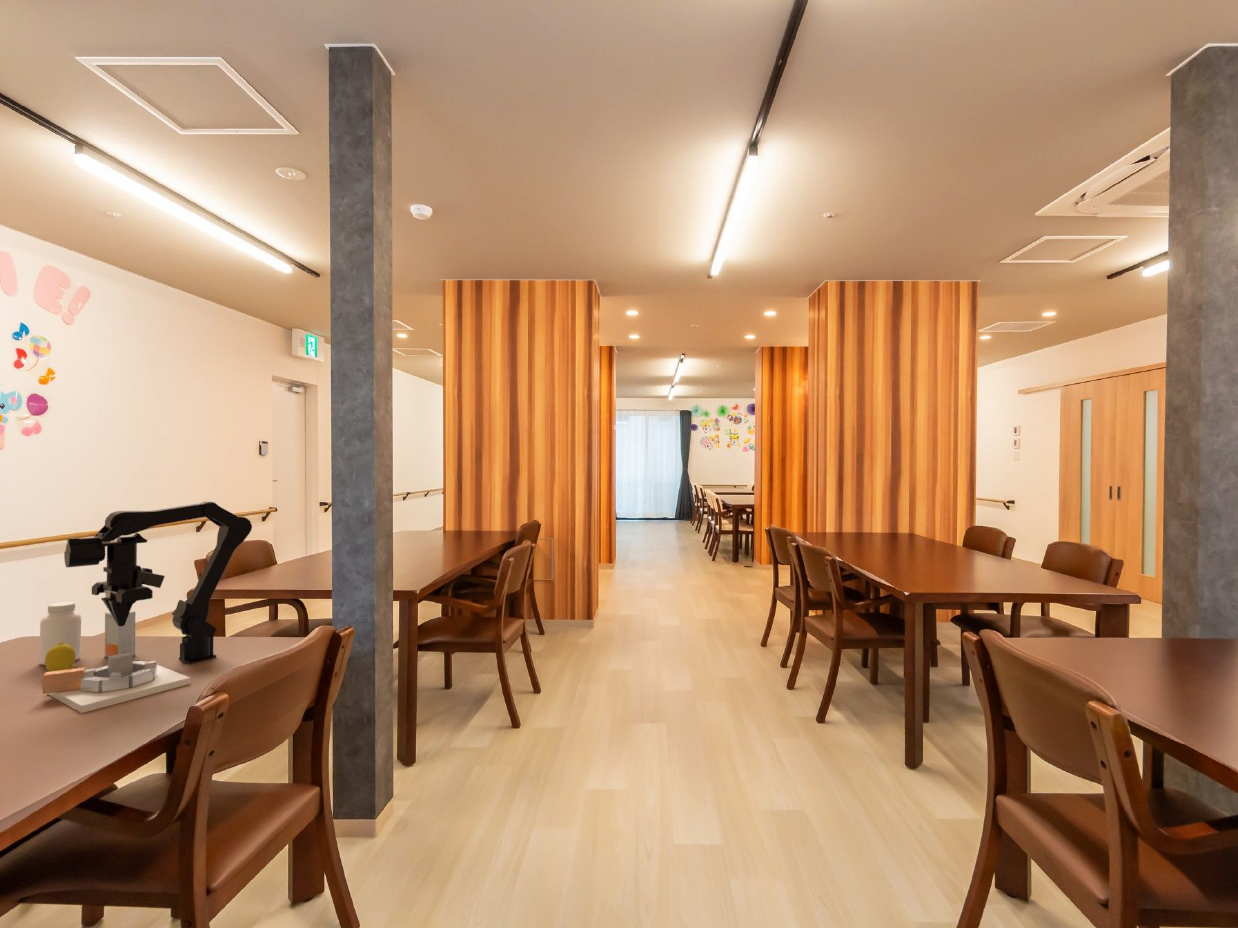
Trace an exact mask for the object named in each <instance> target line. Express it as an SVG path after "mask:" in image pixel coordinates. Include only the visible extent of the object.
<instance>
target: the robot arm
mask: <svg viewBox="0 0 1238 928" xmlns="http://www.w3.org/2000/svg"><path fill="white" fill-rule="evenodd" d="M201 518H206V519H208V520H209V521H210V522H212V523H213V524H214V525H216V526H218V531H217V536H216V538H217V539H216V545H215V548H214V550H213V551H212V554H211V556H210V557H209V560H208V561H207V564H206V566H205V567H204V569H203V571H202V573H201V576H200V577H199V580H198V581H197V583H196V585H195V587H194V590H193V591H192V593H191V595H190V596H189V597H188V598H187V599H186V600H182V599H179V600H178V602H177V604H176V607H175V609H174V611H173V612H172V613H171V616H172V621H171V622H172V624H173V626H174V627H175V628H176V629H177V630H179V631H180V632H181V633H182V635H185V636H182V637H181V643H179V657H178V660H180V661H183V662H184V663H187V664H193V663H197V662H201V661H205V660H206V661H207V660H210V659H214V658H217V654H216V653H215V654H214V636H215V633H216V631H217V628H216V627H215V626H213V625H212V624H210V623H209V622H208V621H207V620H208V616H209V612H210V605H211V604H210V601H211V599H212V597H213V595H214V593H215V591H216V588H217V587H218V585H219V582H220V580H221V578H222V576H223V574H224V573H225V570H226V568H227V566H228V564H229V563H230V560H231V558H232V557H233V554H234V553H235V550H237V548H239V546H241V545H242V544H243V542H245V540H246V538H247V537H248V536H249V535H250V533H251V532H252V528H253V525H252V522H251V521H250V519H249V518H247V517H244V516H239V515H236V514H234V513H233V512H230V511H228V510H227V509H225V508H223V507H221V506H220V505H218V503H216V502H215V501H214V502H212V501H203V502H199V503H194V504H186V505H181V506H180V505H179V506H175V507H173V506H172V507H168V508H162V509H161V508H159V509H155V510H116V511H113V512H111V513H109V514H108V515H107V517H106V518H105V520H104V525H103V526H102V527H101V528H100V529H99V531H98V532H97V533H96V534H94V536H93V537H92V536H91V537H69V538H68V537H67V540H66V541H67V543H66V546H65V551H63V552H64V555H63V556H64V565H65V568H77V567H86V566H87V567H88V566H97V565H99V564H100V562H103V561H104V560H105V559H106V566H103V568H102V569H103V572H104V573H106V580H105V581H98V582H97V581H96V583H94V584H93V585H92V586H91V595H93V596H99V595H100V594H102V593H104V594H105V595H104V596H105V597H101V601H102V603H104V605H105V606H106V608H107V609H108V612H110V613H111V615H112V616H113V618H114V620H115V622H116V623H117V625H118V626H120V627H121V626H124V625H125V623H126V620H127V618H128V615H129V612H130V611H131V610H132V607H133V605H134V604H135V603H136V602H137V601H144V600H150V599H151V600H152V599H153V597H154V596H153V589H151V588H150V587H148V586H151V587H154V588H158V589H161V587H162V585H163V582H164V580H165V577H166V575H163V574H158V573H153V569H151V568H147V567H142V566H140V565H138V564H137V563H138V560H137V558H138V544H144V543H148V539H146V538H144V537H143V536H142V535H141V532H142V531H145V530H146V531H147V530H148V529H150V528H154V527H155V526H160V525H161V526H162V525H165V524H172V523H178V522H183V521H189V520H196V519H201ZM139 532H140V533H139ZM133 534H134V535H133ZM129 535H130V536H129ZM131 535H132V536H131ZM115 540H116V541H115ZM144 585H146V586H144Z"/></svg>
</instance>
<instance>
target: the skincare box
mask: <svg viewBox="0 0 1238 928" xmlns="http://www.w3.org/2000/svg"><path fill="white" fill-rule="evenodd" d="M123 653H131V654H133V656H135V655H136V611H133V610H130V612H129V615H128V618H127V620H126V623H125V625H124V626H121V627H120V626H118V625H117V623H116V622H115V620H114V618H113V616H112V615H111V613H110V611H107V612H104V657H105V658H108V657H110V656H113V655H117V654H123Z"/></svg>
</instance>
